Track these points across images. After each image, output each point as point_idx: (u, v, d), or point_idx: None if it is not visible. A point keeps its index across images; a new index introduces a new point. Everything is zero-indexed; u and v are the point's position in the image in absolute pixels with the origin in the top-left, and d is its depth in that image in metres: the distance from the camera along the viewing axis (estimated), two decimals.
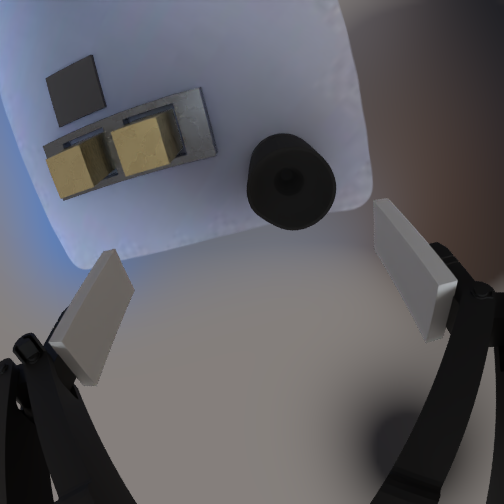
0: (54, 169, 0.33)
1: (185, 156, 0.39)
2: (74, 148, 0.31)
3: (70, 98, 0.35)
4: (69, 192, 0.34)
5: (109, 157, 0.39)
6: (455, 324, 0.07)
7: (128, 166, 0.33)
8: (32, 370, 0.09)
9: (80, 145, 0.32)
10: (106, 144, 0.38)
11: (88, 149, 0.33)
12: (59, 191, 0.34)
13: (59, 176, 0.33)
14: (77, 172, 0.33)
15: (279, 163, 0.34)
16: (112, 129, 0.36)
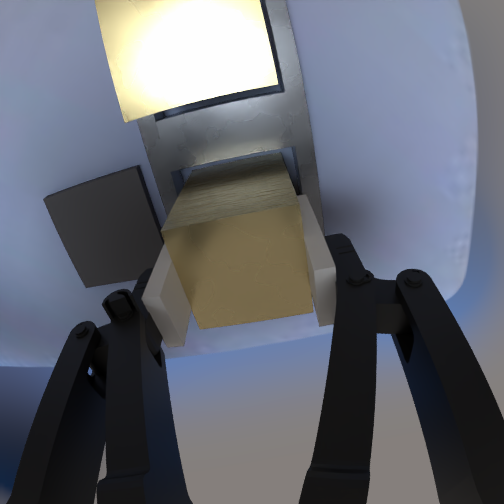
0: (227, 313, 0.15)
1: None
2: (170, 246, 0.13)
3: (118, 242, 0.21)
4: (301, 284, 0.14)
5: (249, 164, 0.18)
6: (336, 314, 0.09)
7: (242, 68, 0.09)
8: (119, 329, 0.10)
9: (165, 226, 0.13)
10: (218, 169, 0.18)
11: (193, 206, 0.14)
12: (292, 311, 0.15)
13: (250, 303, 0.14)
14: (243, 248, 0.13)
15: None
16: (177, 147, 0.16)
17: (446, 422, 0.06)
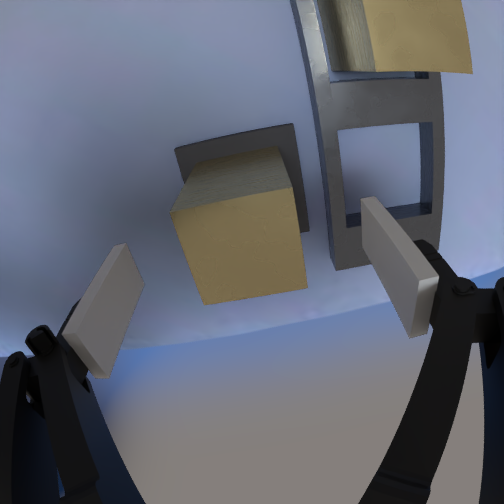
0: (228, 289, 0.16)
1: None
2: (178, 226, 0.14)
3: None
4: (295, 261, 0.15)
5: (249, 156, 0.19)
6: (437, 320, 0.08)
7: (455, 57, 0.10)
8: (44, 362, 0.09)
9: (174, 208, 0.14)
10: (220, 161, 0.20)
11: (198, 191, 0.15)
12: (288, 287, 0.16)
13: (250, 279, 0.16)
14: (244, 227, 0.14)
15: None
16: (346, 108, 0.17)
17: None
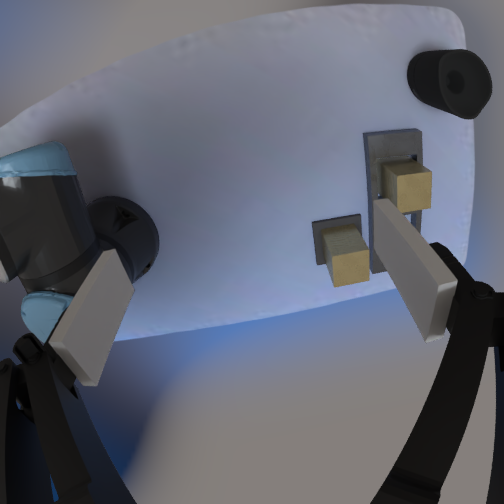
0: (344, 281, 0.45)
1: (417, 155, 0.42)
2: (333, 260, 0.44)
3: None
4: (366, 271, 0.45)
5: (345, 229, 0.48)
6: (455, 324, 0.07)
7: (424, 204, 0.40)
8: (32, 370, 0.09)
9: (332, 255, 0.43)
10: (333, 230, 0.49)
11: (336, 248, 0.45)
12: (363, 280, 0.45)
13: (351, 277, 0.45)
14: (353, 261, 0.44)
15: (443, 86, 0.31)
16: None
17: None
